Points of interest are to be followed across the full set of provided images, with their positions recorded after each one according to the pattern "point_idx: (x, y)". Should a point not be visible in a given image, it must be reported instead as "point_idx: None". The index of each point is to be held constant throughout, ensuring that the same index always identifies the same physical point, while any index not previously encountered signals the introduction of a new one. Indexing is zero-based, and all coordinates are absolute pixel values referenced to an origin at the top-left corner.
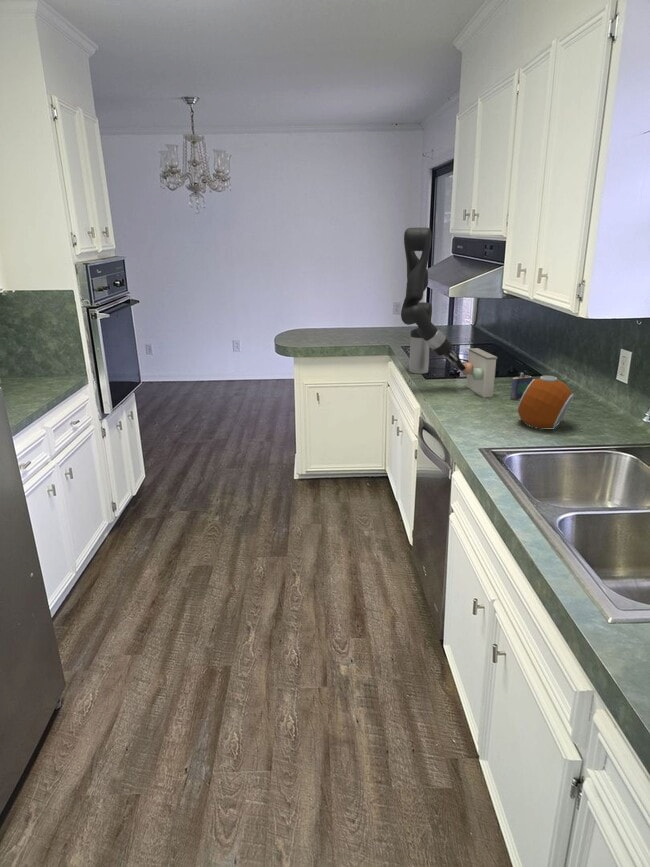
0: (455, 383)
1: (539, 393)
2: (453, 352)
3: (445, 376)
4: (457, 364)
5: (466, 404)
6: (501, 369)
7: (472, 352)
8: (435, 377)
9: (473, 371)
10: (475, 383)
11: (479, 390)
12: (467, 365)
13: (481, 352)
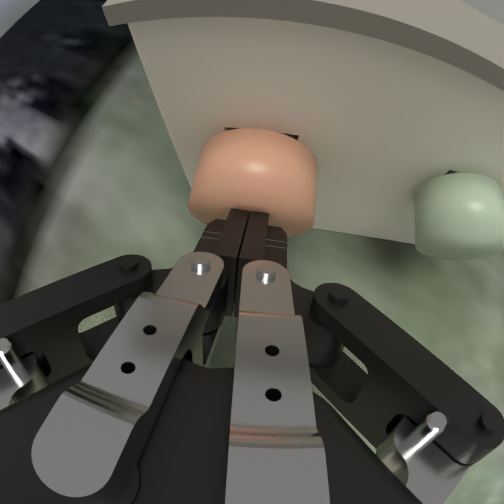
0: (122, 242)
1: None
2: (320, 489)
3: (11, 222)
4: (350, 362)
5: (492, 382)
6: (79, 20)
7: (251, 17)
8: (3, 279)
9: (448, 235)
10: (341, 212)
11: (394, 232)
12: (302, 195)
13: (419, 2)
